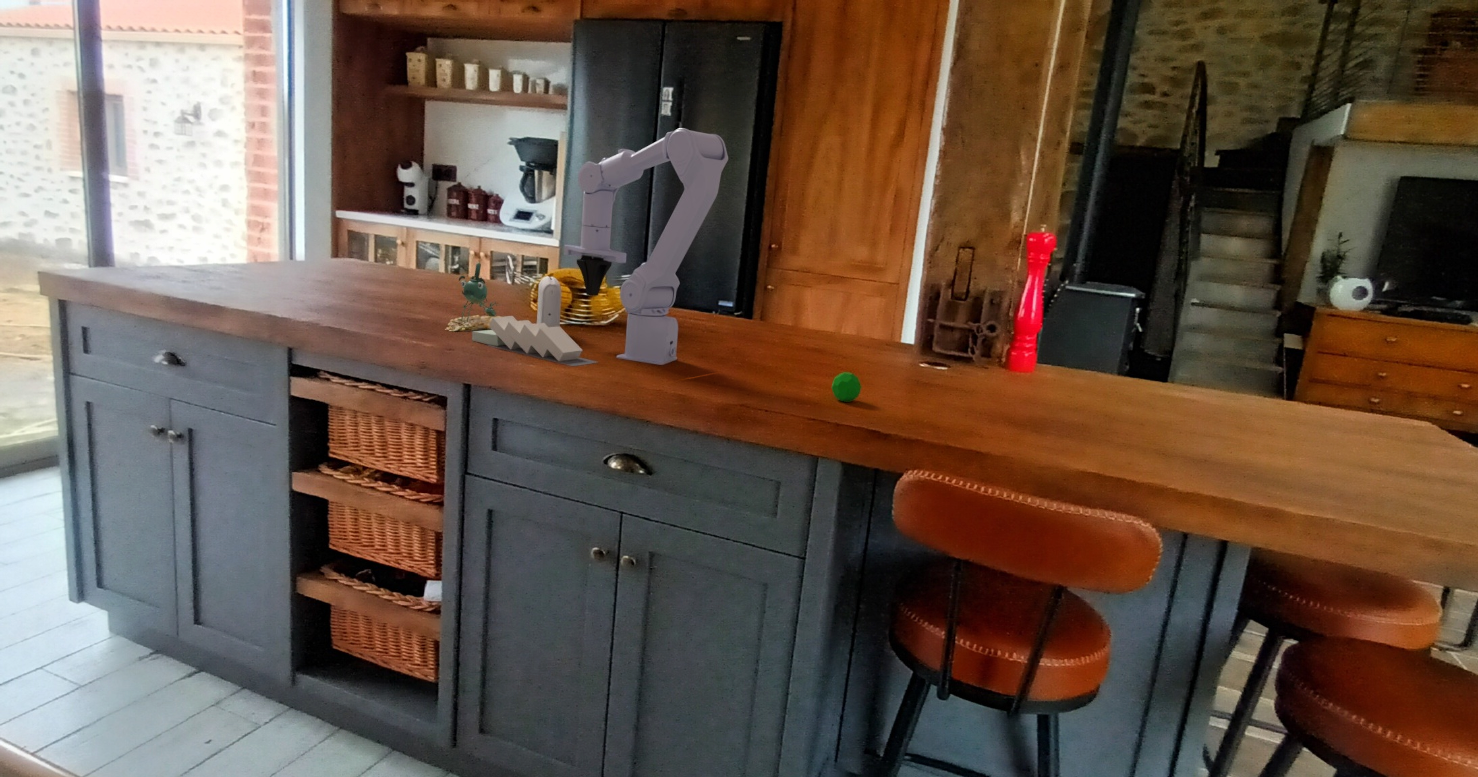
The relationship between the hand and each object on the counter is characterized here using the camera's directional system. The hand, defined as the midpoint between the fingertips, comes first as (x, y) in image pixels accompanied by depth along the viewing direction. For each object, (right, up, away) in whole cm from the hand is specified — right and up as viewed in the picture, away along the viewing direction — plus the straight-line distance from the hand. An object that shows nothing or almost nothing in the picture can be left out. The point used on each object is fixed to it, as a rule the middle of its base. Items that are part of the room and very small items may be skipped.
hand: (592, 295), depth 174 cm
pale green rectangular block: (-15, -9, -8) cm, 19 cm away
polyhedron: (+47, -21, -26) cm, 58 cm away
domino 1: (-11, -10, -10) cm, 18 cm away
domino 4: (-1, -13, -17) cm, 21 cm away
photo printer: (-11, -8, +9) cm, 16 cm away
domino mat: (-7, -12, -13) cm, 19 cm away
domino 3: (-4, -12, -14) cm, 19 cm away
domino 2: (-8, -11, -12) cm, 18 cm away
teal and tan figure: (-26, -6, +11) cm, 29 cm away
